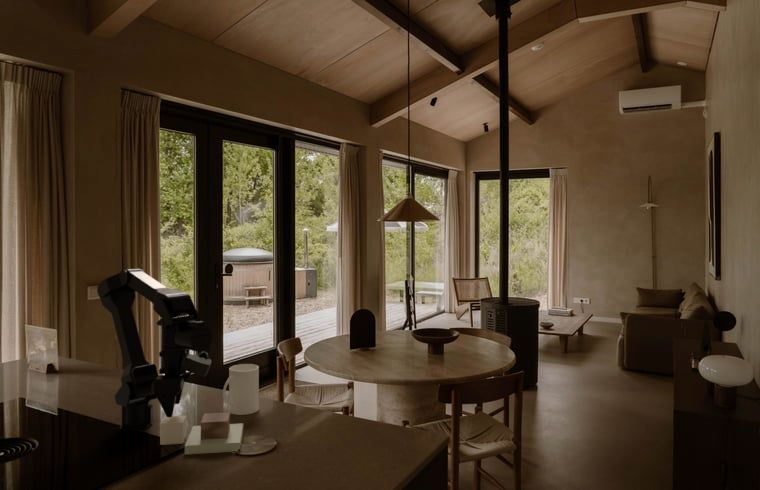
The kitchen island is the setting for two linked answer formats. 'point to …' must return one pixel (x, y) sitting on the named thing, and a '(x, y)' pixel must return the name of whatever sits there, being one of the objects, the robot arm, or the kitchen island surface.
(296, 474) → the kitchen island surface
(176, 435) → the ceramic cube
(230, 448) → the base board
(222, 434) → the walnut block
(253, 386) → the mug
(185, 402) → the kitchen island surface
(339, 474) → the kitchen island surface
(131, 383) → the robot arm
